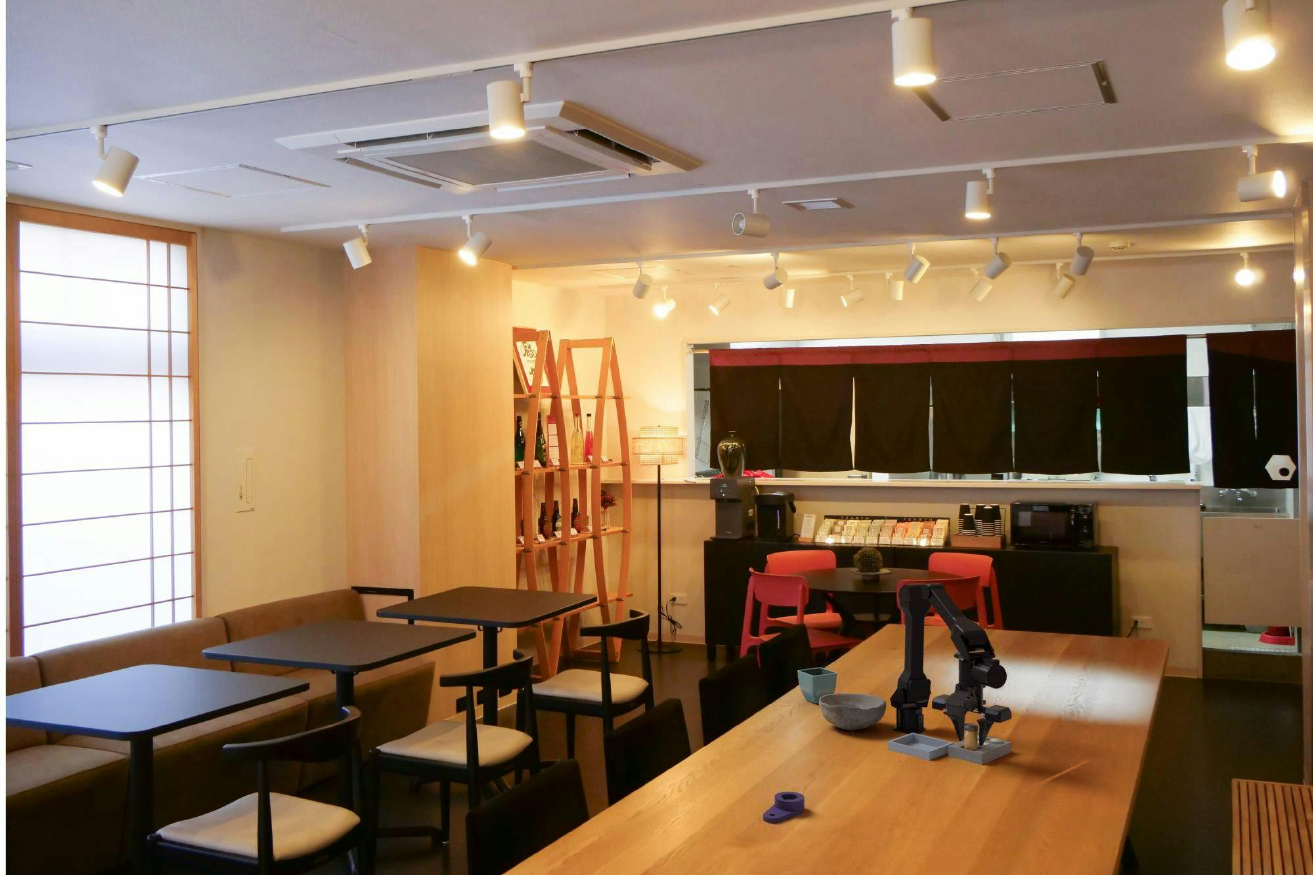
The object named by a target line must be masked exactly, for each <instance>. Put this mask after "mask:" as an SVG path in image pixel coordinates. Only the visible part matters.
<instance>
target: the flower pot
mask: <svg viewBox="0 0 1313 875" xmlns="http://www.w3.org/2000/svg"><path fill="white" fill-rule="evenodd" d="M797 677H798V684H799V688H800V691H801V692H800V693H802V695H803V697H804V698H805V700H806V701H807V702H811V703H812V704H815V705H816V704H819V699H820V697H822V696H825V695H828V694H835V692H836V688H837V682H838V681H837V680H838V672H836V671H834V670H831V669H827V668H824V667H814V668H813V667H812V668H806V669H799V670H797Z"/></svg>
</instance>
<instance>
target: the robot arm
mask: <svg viewBox="0 0 1313 875" xmlns="http://www.w3.org/2000/svg"><path fill="white" fill-rule="evenodd" d="M898 590H899V591H898V594H897V595H898V602H899V607H900V610H901V611H902V613H903V614H904V618H905V621H904V622H905V624H904V666H903V667H904V668H903V670H902V673H901V674H900V676H899V677H898V679H897V686H896V690H894V692H893V694H892V695H891V696H890V699H889V701H890V705H891V706H890V707H892V708H894V709H895V718H896V719H895V722H896V723H895V726H894V727H892V730H894V731H898V732H902V733H907V734H910V733H916V734H919V733H920V732H923V731H925V730H927V728H926V727H925V721H924V720H925V717H924V715H925V714H924V713H923V708H928V705H929V702H930V697H931V695H932V692H931V691H932V690H931V688H932V681H931V679H930V678H928V677H927V675H926V674H925V672H924V663H925V662H924V661H925V660H924V658H925V656H924V655H925V623H926V622H925V620H926V619H925V618H926V616H927V615H928V613H929V611H930V610H931V608H933V609H934V610H935V611H936V613H937V614H938V615H939V617H940V618H941V620H942V621H943V622H944V623H945V625H946V627H948V629H949V631H950V636H949V637H950V640H951V642H952V643H953V645H954V647H955V649H956V650H957V651H956V652H955V653H954V654H953V658H954V659H958V682H957V683H955V686H954V692H951V694H946V693H943V694H940V695H937V696H934V697H933V699H932V701H931V709H933V710H936V711H941V712H942V711H943V715H946V716H947V717H948V718H949V719H950V720H951V722H952V724H953V727H954V730H955V732H956V735H957V738H958V740H959V741H958V742H960V741H963V740H964V724H965V723H966V715H967V713H968V712H969V713H973V714H974V713H975V714H978V715H980V716H981V717H980V718H978V719H976V722H977V725H978V735H979V746H982V745H983V744H984V742H985V739H986V737H988V735H989V733H990V731H991V728H992V727H993V725H994V723H995V724H997V723H998V724H1002V723H1003V722H1006V721H1010V720H1012V714H1013V713H1012V712H1013V711H1012V710H1011V709H1010V707H1008V706H1005V705H1004V706H1003V705H999V704H994V705H992V706H984V705H986V704H987V699H984V689H985V688H987V687H988V688H991V689H995V690H999V689H1001V688H1002V687H1004V686H1005V684H1006V683H1007V680H1008V672H1007V671H1006V669H1005V667H1004V666H1002V665H1001V662H1000V658H999V659H998V658H996V653H995V649H994V647H993V646H992V643H991V641H990V639H989V637H988V634H987V632H986V631H985V629H984V628H983V627H982V626H981V625H980V624H978V623H977V622H975V621H973V620H971V619H969V618H967V617H966V615H964V613H963V611H962V610H961V609H960V608H959V606H958V605H957V604H956V603H955V601H954V600H953V599H952V598H951V596H950V595H949V593H947V591H946V587H945V585H943V584H942V583H940V582H935V583H926V582H920V583H904V584H902V586H901V587H899V589H898Z"/></svg>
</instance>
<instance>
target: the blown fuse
mask: <svg viewBox="0 0 1313 875" xmlns="http://www.w3.org/2000/svg"><path fill="white" fill-rule="evenodd" d="M978 735H979V724H978V723H972V722H965V724H964V737H963V740H964V749H967V750H971V751H976V750H978Z"/></svg>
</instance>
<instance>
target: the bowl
mask: <svg viewBox="0 0 1313 875" xmlns="http://www.w3.org/2000/svg"><path fill="white" fill-rule="evenodd" d="M818 707H819V708H820V710H821V713H822V716H823V718H824V719H825V721H827V722H828V723H830V724H832V725H833V726H835V727H836V728H838V729H842V730H846V731H856V730H862V729H866V728H869V727H870V726H873V725H876V724H877V723H879V722H880V721H881V720H882V718H884V716H885V714H886V710H887V702H886V700H885V699H884V698H882V697H881V696H877V695H873V694H872V695H871V694H863V693H850V692H849V693H848V692H847V693H845V692H844V693H842V692H841V693H840V692H839V693H838V692H837V693H834V694H828V695H825V696H822V697H820V699H819V703H818Z"/></svg>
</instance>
